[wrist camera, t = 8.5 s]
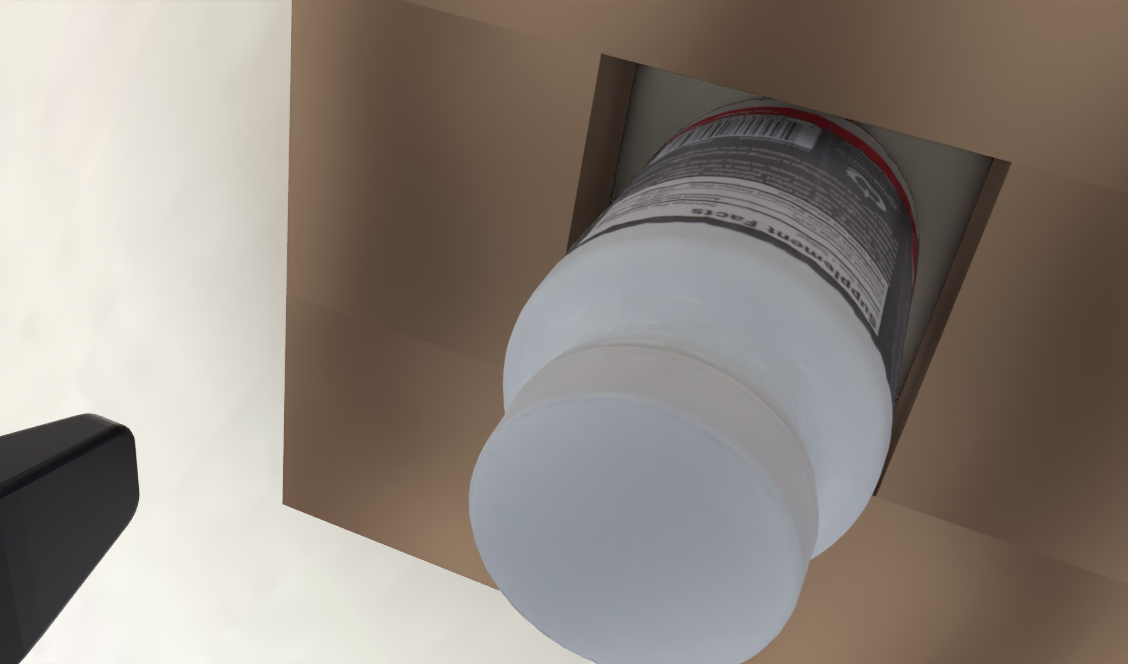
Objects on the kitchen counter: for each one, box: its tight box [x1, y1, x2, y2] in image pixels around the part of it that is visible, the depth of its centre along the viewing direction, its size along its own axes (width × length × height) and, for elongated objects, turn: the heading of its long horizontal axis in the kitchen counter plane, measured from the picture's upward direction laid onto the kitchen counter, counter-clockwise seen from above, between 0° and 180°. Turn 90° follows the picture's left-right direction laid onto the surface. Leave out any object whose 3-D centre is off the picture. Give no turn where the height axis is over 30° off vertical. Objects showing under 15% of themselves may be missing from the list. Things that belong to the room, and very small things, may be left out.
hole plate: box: [283, 0, 1128, 664], centre depth 19 cm, size 18×18×2 cm
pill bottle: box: [469, 99, 920, 664], centre depth 16 cm, size 5×5×10 cm
